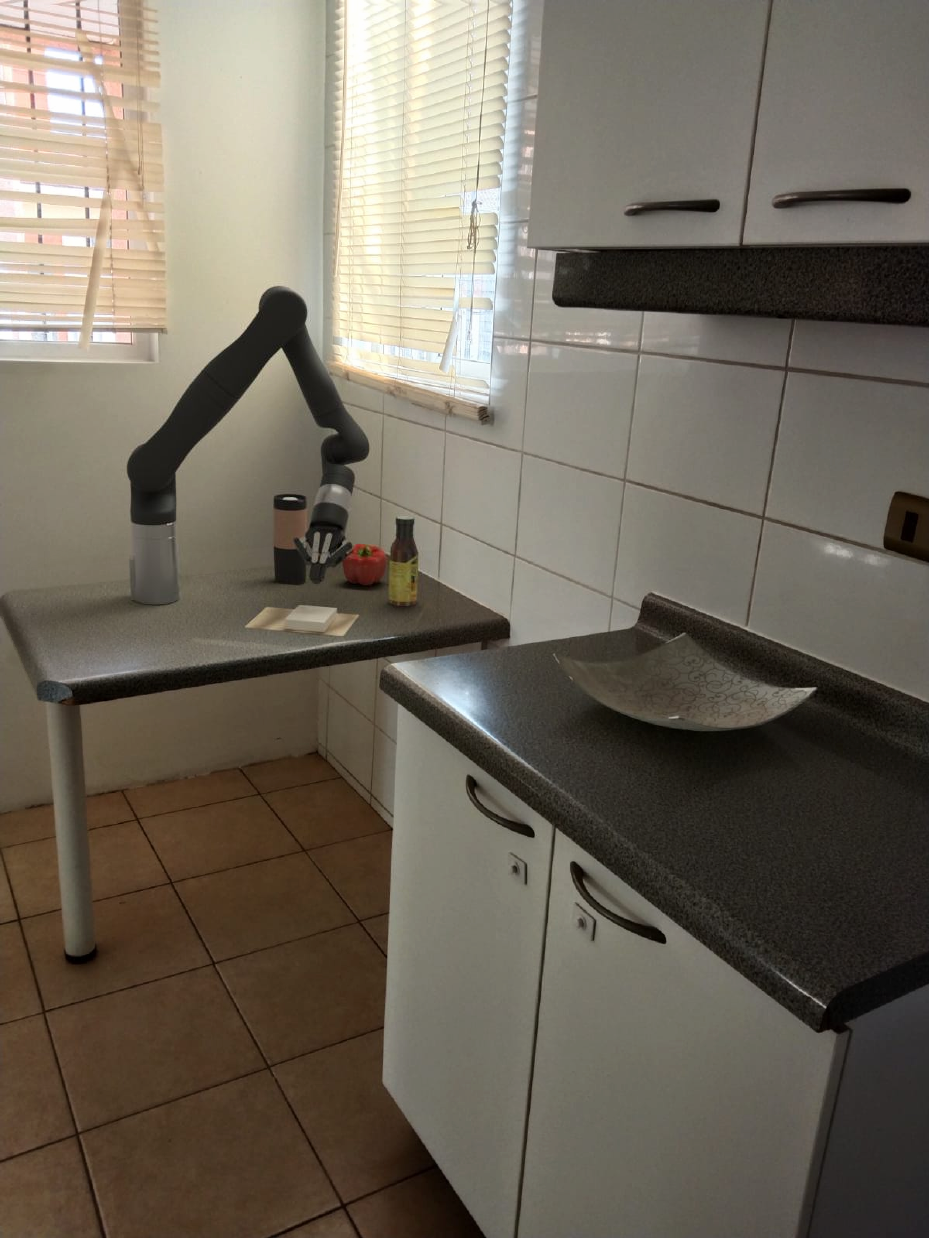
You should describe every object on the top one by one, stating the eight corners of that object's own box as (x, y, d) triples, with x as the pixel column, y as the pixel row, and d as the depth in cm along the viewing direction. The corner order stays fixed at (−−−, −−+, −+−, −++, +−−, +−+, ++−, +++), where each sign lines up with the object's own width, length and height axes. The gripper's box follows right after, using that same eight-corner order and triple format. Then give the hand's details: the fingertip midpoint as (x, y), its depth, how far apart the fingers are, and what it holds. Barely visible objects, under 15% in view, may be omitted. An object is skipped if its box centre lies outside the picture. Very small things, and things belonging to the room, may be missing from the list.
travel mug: (273, 576, 238) (273, 493, 232) (306, 576, 239) (306, 494, 233) (273, 585, 231) (273, 500, 225) (307, 585, 232) (307, 500, 226)
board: (244, 631, 199) (244, 627, 199) (266, 611, 212) (266, 607, 212) (343, 640, 197) (343, 635, 196) (359, 619, 210) (359, 615, 210)
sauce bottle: (416, 611, 218) (419, 521, 212) (387, 609, 217) (389, 520, 211) (417, 602, 224) (420, 515, 218) (389, 601, 224) (391, 513, 218)
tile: (299, 614, 208) (284, 629, 199) (299, 604, 207) (284, 619, 198) (336, 617, 207) (324, 632, 198) (336, 608, 207) (324, 622, 197)
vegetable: (390, 589, 233) (391, 547, 229) (345, 591, 230) (346, 548, 227) (381, 577, 243) (382, 536, 239) (338, 578, 240) (339, 537, 237)
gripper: (297, 498, 209) (279, 570, 201) (359, 503, 207) (344, 575, 199) (304, 518, 215) (287, 588, 207) (364, 523, 214) (350, 593, 206)
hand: (315, 582), depth 203 cm, fingers closed
